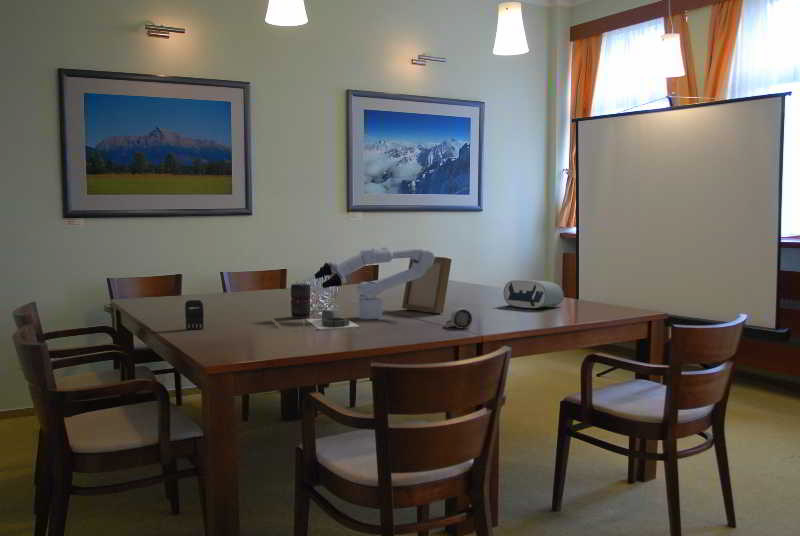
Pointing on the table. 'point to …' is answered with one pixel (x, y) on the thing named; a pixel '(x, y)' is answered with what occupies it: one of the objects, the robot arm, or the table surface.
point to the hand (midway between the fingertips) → (318, 281)
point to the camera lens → (300, 301)
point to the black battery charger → (194, 314)
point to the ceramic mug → (459, 319)
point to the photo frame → (428, 288)
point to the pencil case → (532, 294)
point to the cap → (327, 313)
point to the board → (333, 323)
